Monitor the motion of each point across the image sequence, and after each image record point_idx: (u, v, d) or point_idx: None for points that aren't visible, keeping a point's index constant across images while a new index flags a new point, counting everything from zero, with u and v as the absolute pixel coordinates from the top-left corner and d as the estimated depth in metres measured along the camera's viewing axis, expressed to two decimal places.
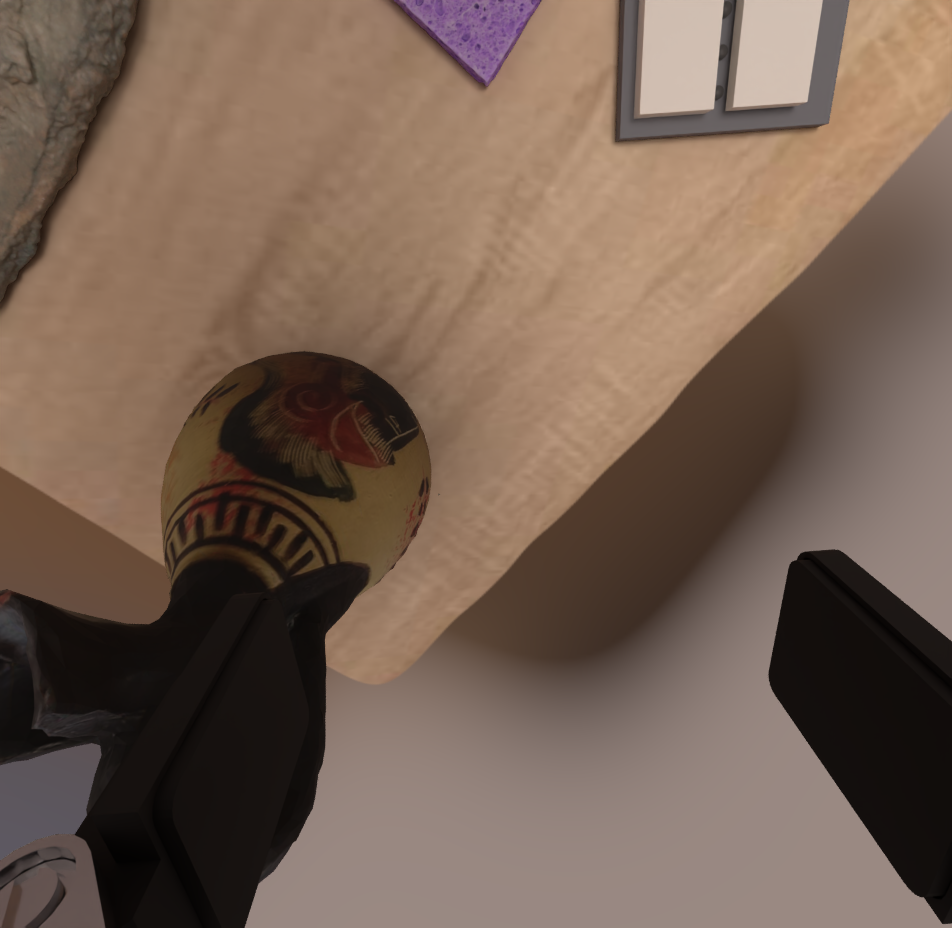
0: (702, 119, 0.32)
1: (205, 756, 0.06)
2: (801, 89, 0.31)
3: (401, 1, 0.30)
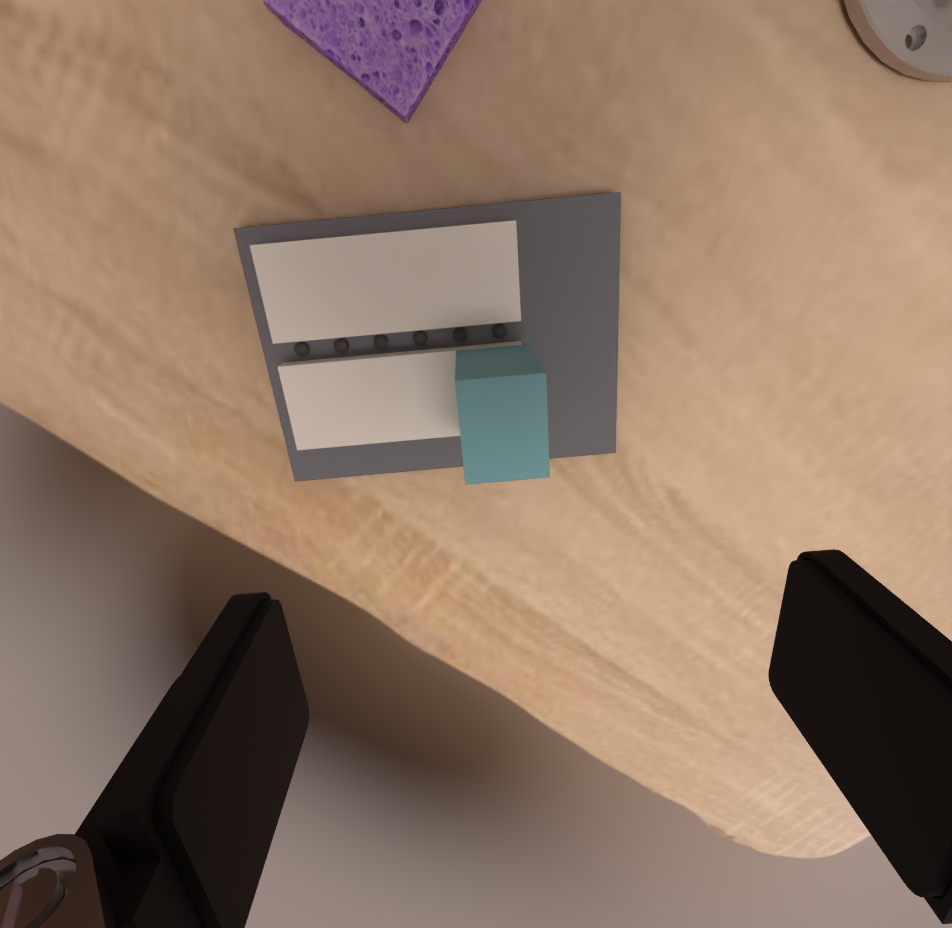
0: None
1: (204, 756, 0.06)
2: (307, 441, 0.27)
3: None
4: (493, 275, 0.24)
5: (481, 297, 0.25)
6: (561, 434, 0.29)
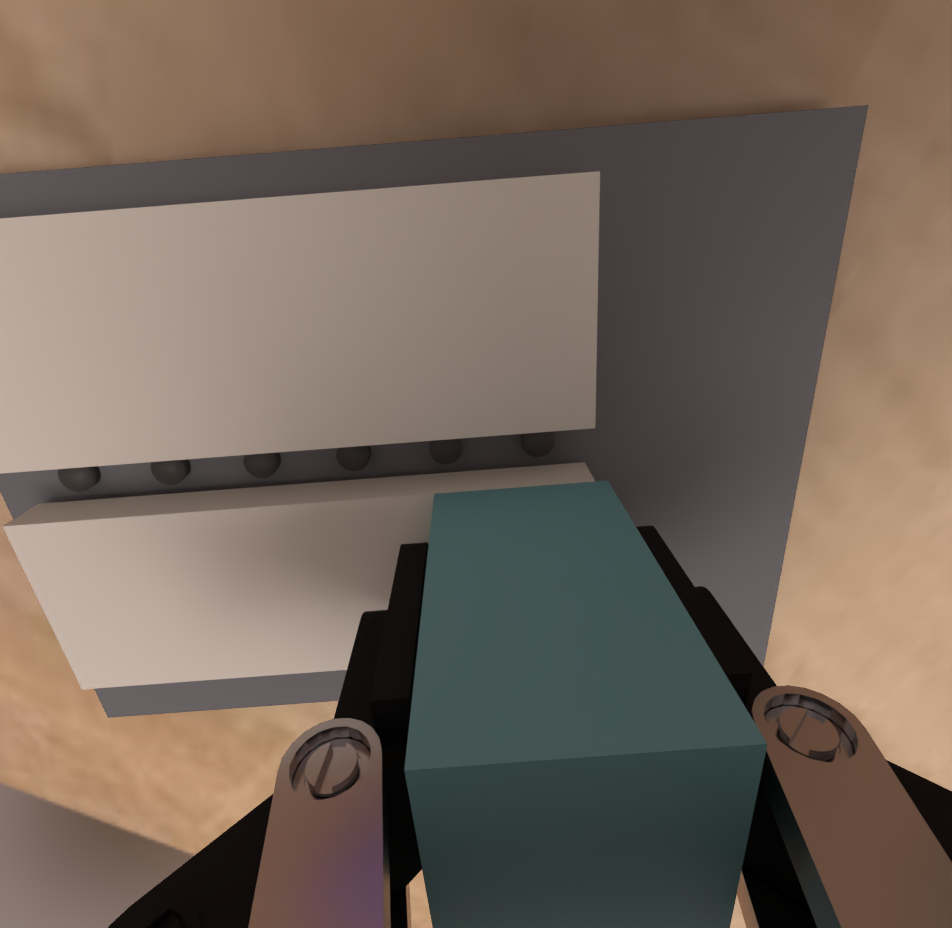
0: None
1: None
2: (102, 672, 0.12)
3: None
4: (531, 318, 0.09)
5: (498, 372, 0.10)
6: None
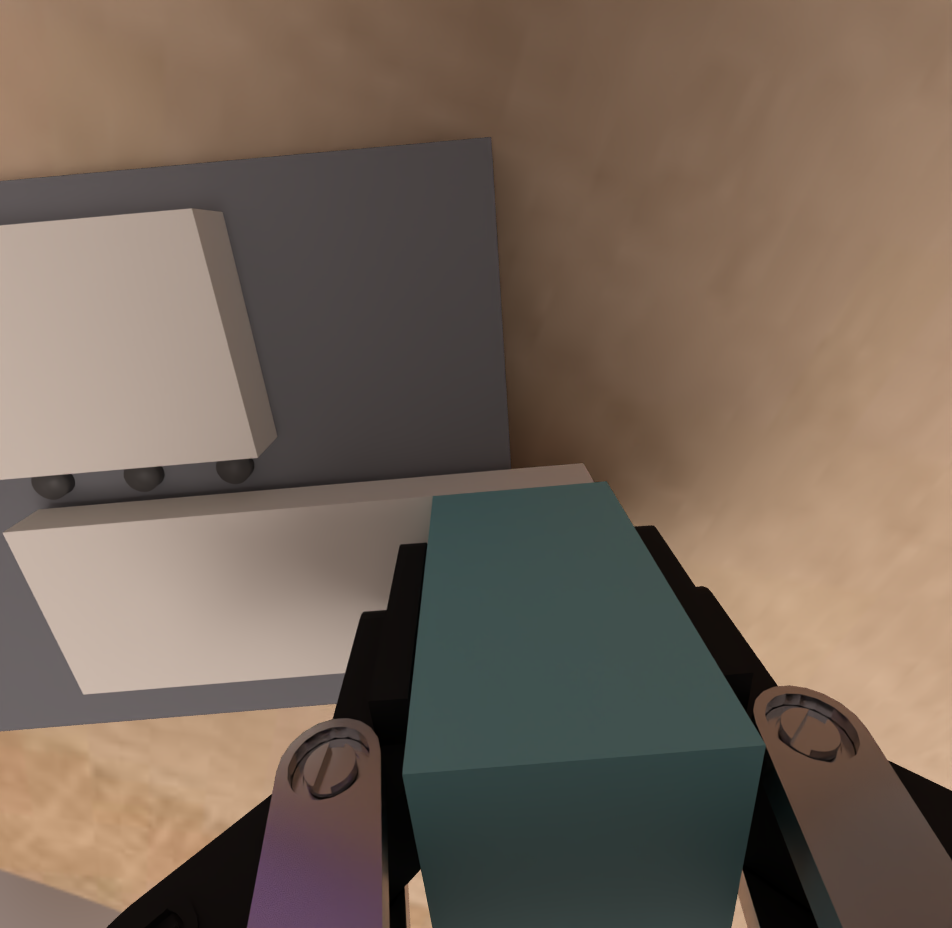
0: None
1: None
2: (103, 677, 0.12)
3: None
4: (163, 351, 0.09)
5: (144, 404, 0.10)
6: None
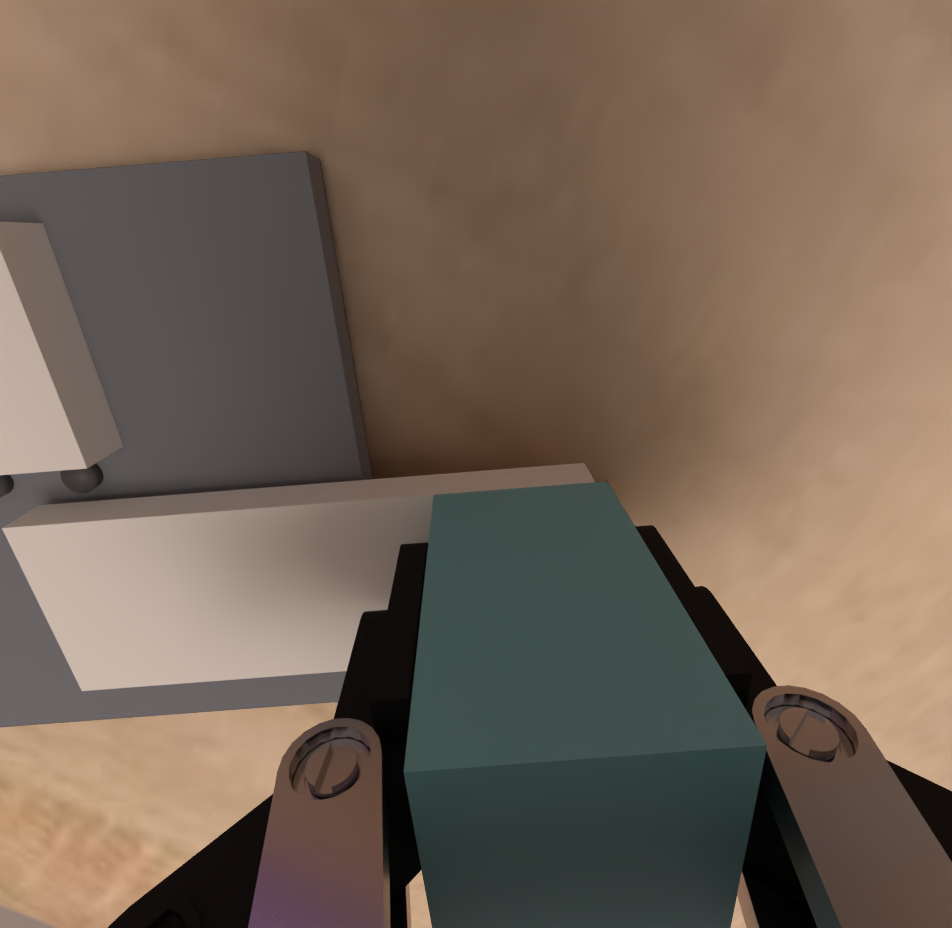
0: None
1: None
2: (102, 674, 0.12)
3: None
4: None
5: None
6: None
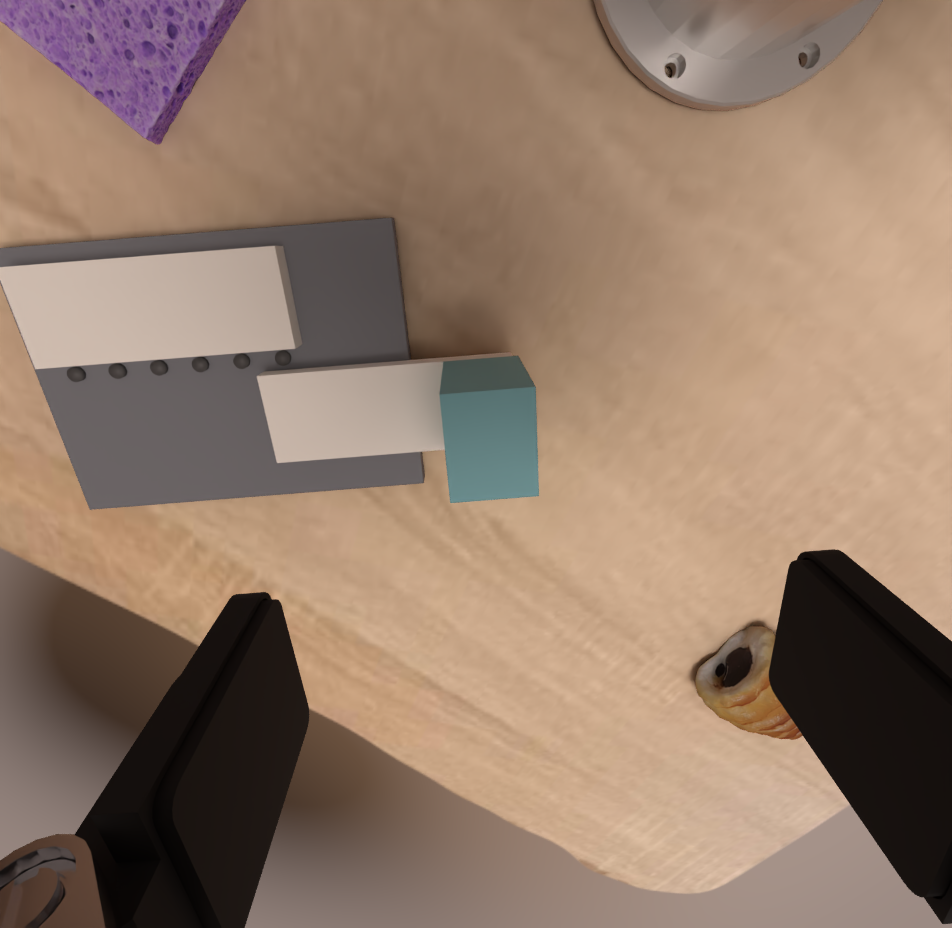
0: None
1: (204, 756, 0.06)
2: (288, 453, 0.26)
3: None
4: (259, 301, 0.23)
5: (249, 324, 0.24)
6: (364, 463, 0.28)
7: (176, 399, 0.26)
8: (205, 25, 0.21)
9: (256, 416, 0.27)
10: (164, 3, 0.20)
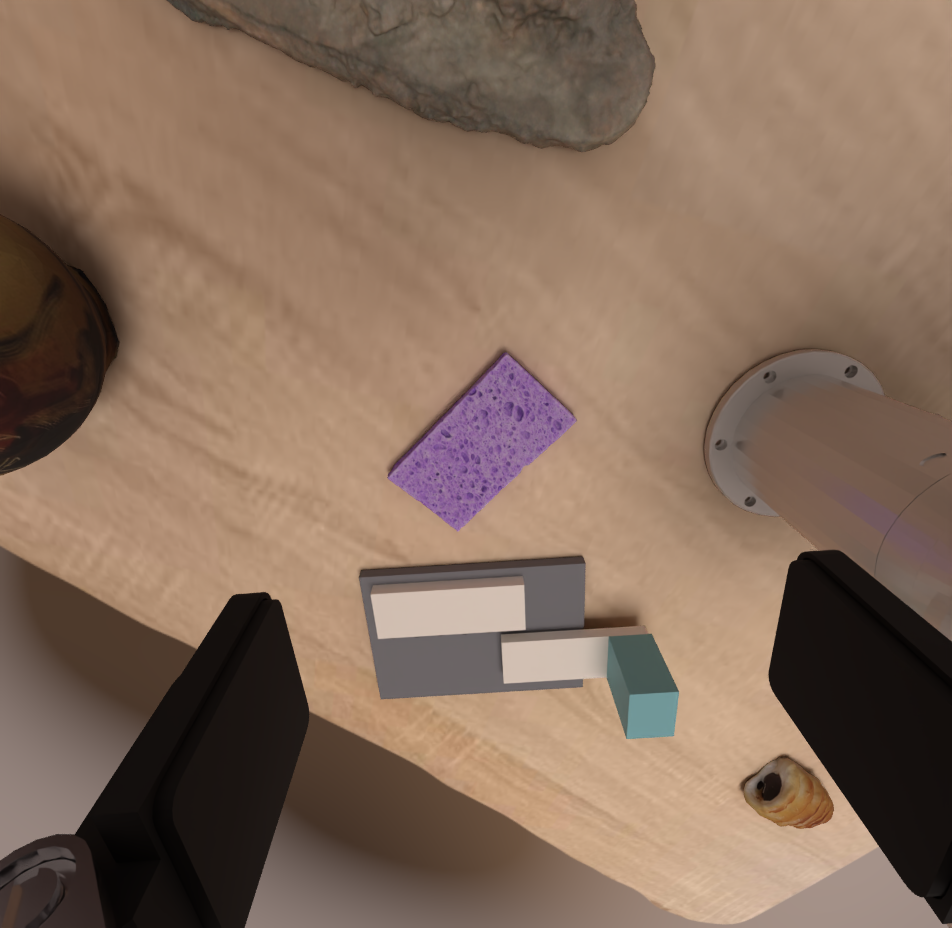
0: None
1: (204, 756, 0.06)
2: (511, 679, 0.45)
3: (444, 419, 0.37)
4: (510, 609, 0.42)
5: (502, 619, 0.42)
6: None
7: (445, 645, 0.45)
8: (501, 487, 0.39)
9: (490, 653, 0.45)
10: (483, 478, 0.39)
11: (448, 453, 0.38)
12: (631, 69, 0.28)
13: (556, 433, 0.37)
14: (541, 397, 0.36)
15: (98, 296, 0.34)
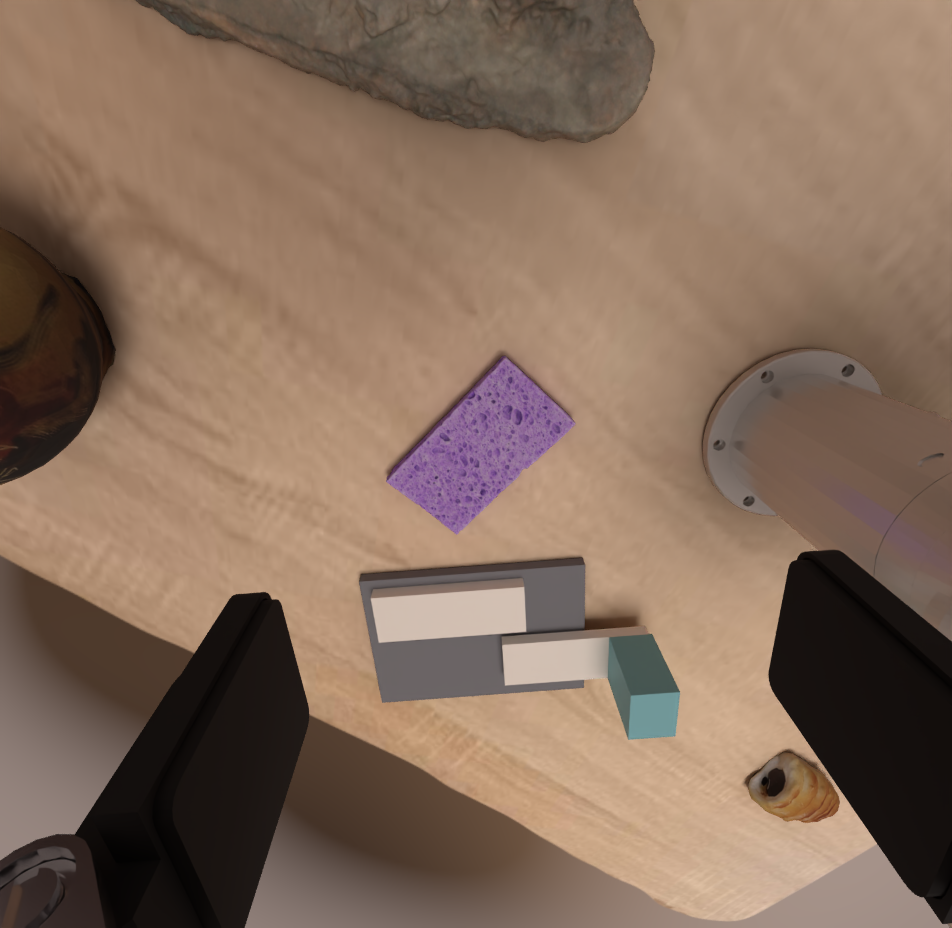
0: None
1: (204, 756, 0.06)
2: (512, 680, 0.45)
3: (443, 422, 0.37)
4: (510, 611, 0.42)
5: (503, 621, 0.42)
6: None
7: (446, 648, 0.45)
8: (500, 490, 0.39)
9: (491, 655, 0.45)
10: (482, 482, 0.39)
11: (447, 457, 0.38)
12: (631, 56, 0.27)
13: (555, 436, 0.37)
14: (539, 401, 0.36)
15: (94, 304, 0.34)
